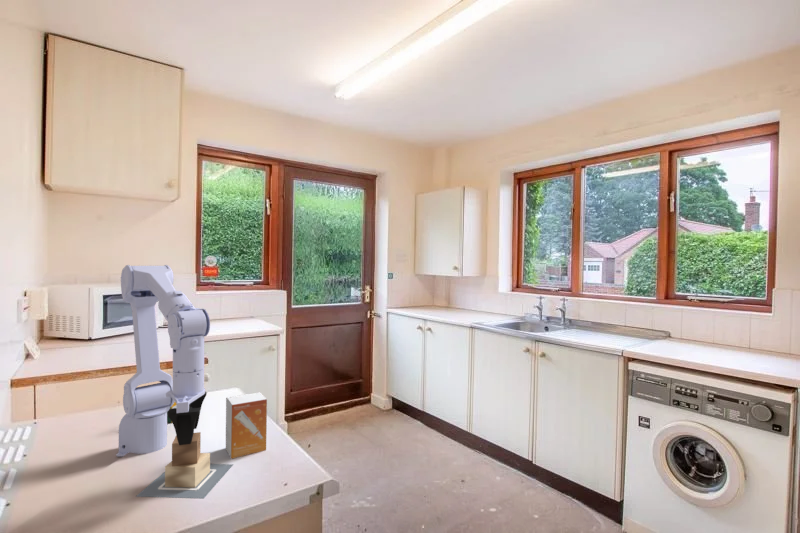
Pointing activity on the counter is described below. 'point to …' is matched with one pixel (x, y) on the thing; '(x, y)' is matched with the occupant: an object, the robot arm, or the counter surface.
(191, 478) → the maple block
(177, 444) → the walnut block
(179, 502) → the counter surface
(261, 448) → the small box
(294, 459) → the counter surface
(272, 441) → the counter surface
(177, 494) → the board
